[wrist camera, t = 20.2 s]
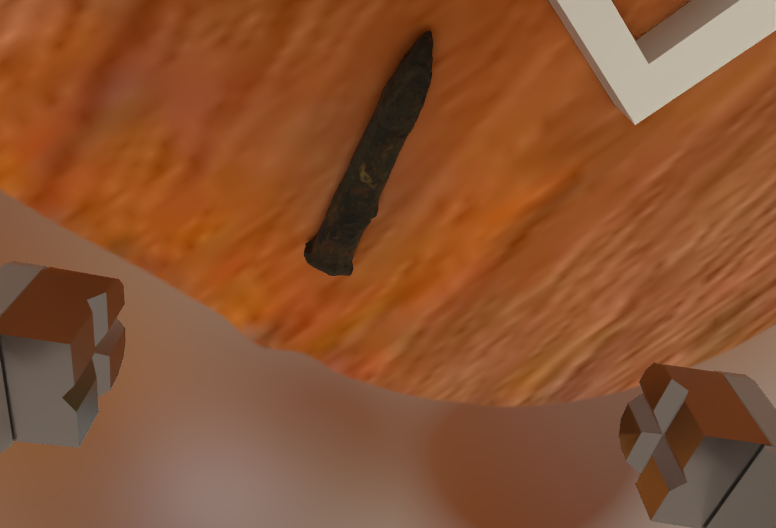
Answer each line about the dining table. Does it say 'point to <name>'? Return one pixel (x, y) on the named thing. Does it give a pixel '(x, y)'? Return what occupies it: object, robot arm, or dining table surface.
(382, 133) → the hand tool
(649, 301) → the dining table surface
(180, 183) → the dining table surface
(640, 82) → the rack
